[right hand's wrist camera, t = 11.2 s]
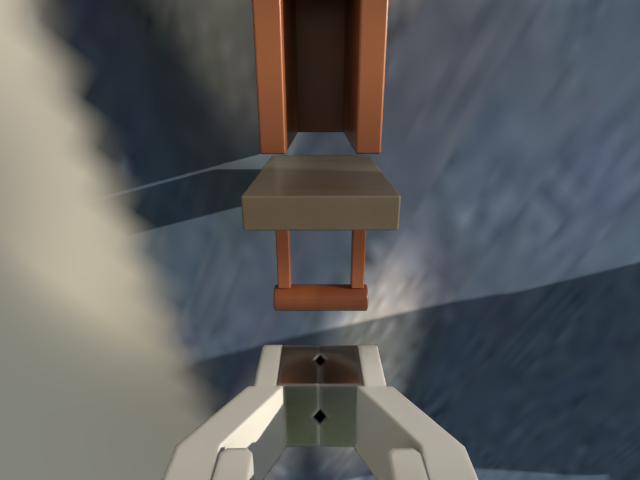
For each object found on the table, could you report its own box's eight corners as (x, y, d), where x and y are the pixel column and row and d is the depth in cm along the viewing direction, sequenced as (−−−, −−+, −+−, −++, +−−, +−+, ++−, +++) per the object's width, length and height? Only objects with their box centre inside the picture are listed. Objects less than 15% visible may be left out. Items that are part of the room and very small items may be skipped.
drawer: (364, 273, 23) (388, 372, 15) (277, 273, 23) (253, 372, 15) (384, -217, 16) (456, -562, 7) (255, -217, 16) (182, -560, 7)
